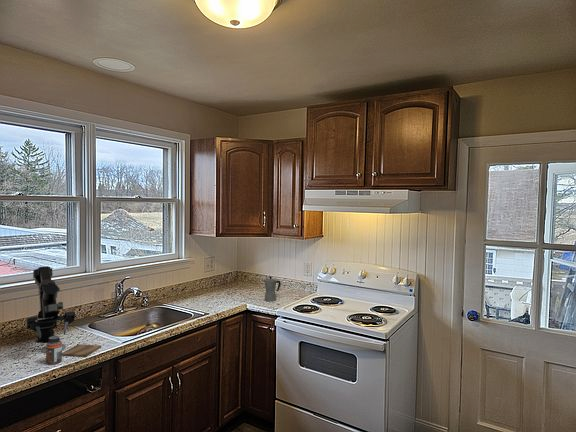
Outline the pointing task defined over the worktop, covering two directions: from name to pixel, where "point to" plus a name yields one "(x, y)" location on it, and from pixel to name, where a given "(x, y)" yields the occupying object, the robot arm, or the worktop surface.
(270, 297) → the coffeepot
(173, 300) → the worktop surface
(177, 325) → the worktop surface
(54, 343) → the supplement bottle
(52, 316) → the robot arm
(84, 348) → the walnut coaster
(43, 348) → the slate coaster
